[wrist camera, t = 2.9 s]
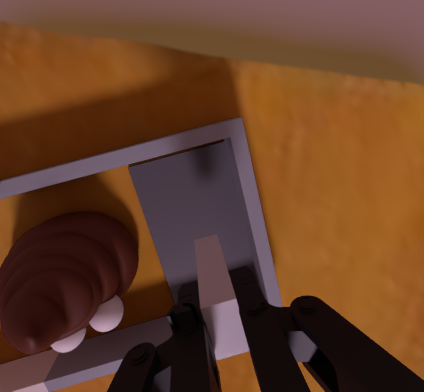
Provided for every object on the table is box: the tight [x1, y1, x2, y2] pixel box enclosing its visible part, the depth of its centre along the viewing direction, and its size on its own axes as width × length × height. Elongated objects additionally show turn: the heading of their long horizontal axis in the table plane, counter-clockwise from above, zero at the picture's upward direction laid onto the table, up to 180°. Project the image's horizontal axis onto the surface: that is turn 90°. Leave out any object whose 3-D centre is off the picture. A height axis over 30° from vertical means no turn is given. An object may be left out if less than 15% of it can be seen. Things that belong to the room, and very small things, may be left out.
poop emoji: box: [0, 212, 139, 354], centre depth 18 cm, size 10×8×9 cm
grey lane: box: [0, 117, 283, 392], centre depth 21 cm, size 19×16×4 cm
